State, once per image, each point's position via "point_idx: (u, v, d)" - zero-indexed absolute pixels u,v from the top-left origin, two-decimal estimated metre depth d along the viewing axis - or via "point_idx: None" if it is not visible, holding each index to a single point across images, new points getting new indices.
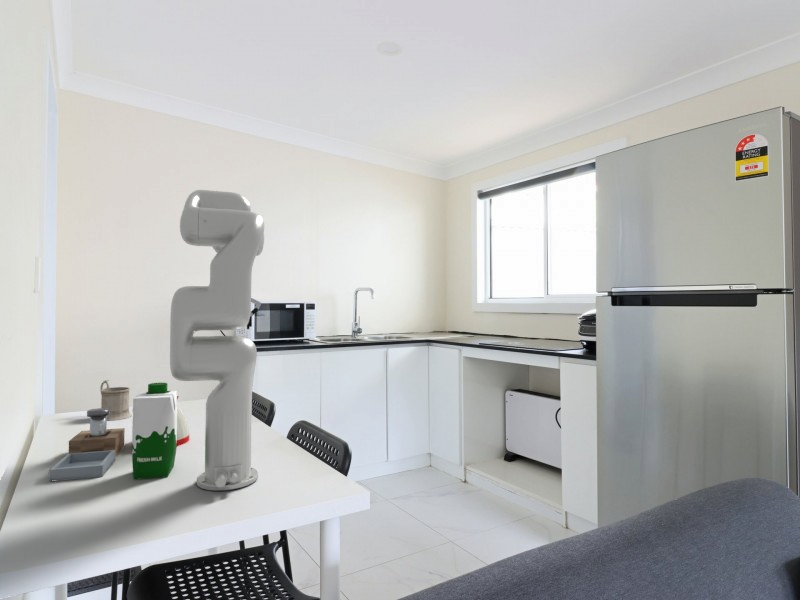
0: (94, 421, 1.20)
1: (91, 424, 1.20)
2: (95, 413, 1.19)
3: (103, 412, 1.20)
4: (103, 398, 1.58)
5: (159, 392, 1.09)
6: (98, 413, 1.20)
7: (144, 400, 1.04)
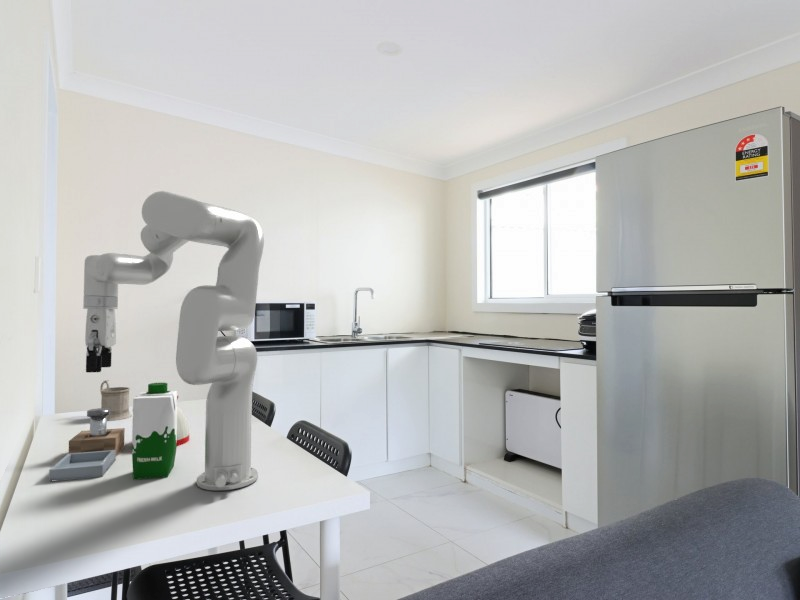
0: (94, 421, 1.20)
1: (91, 424, 1.20)
2: (95, 413, 1.19)
3: (103, 412, 1.20)
4: (103, 398, 1.58)
5: (159, 392, 1.09)
6: (98, 413, 1.20)
7: (144, 400, 1.04)
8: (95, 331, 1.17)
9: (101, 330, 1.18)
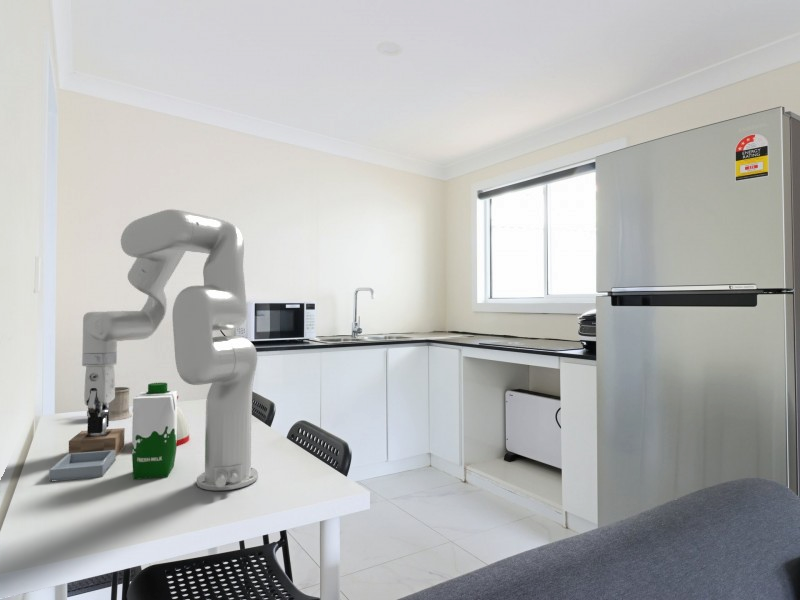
0: None
1: None
2: None
3: (103, 412, 1.20)
4: None
5: (159, 392, 1.09)
6: None
7: (144, 399, 1.04)
8: (94, 392, 1.17)
9: (100, 388, 1.18)
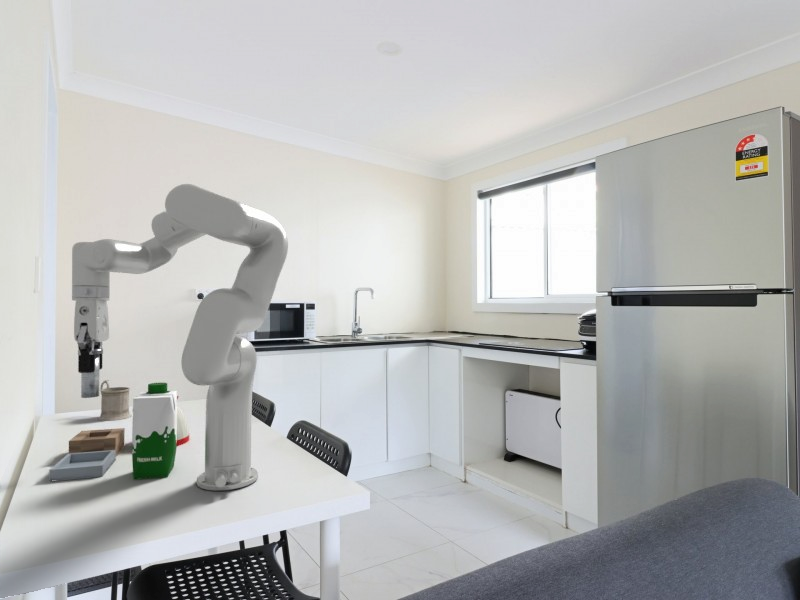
0: None
1: None
2: None
3: (95, 350, 1.11)
4: (103, 398, 1.58)
5: (159, 392, 1.09)
6: None
7: (144, 399, 1.04)
8: (85, 327, 1.08)
9: (91, 323, 1.08)
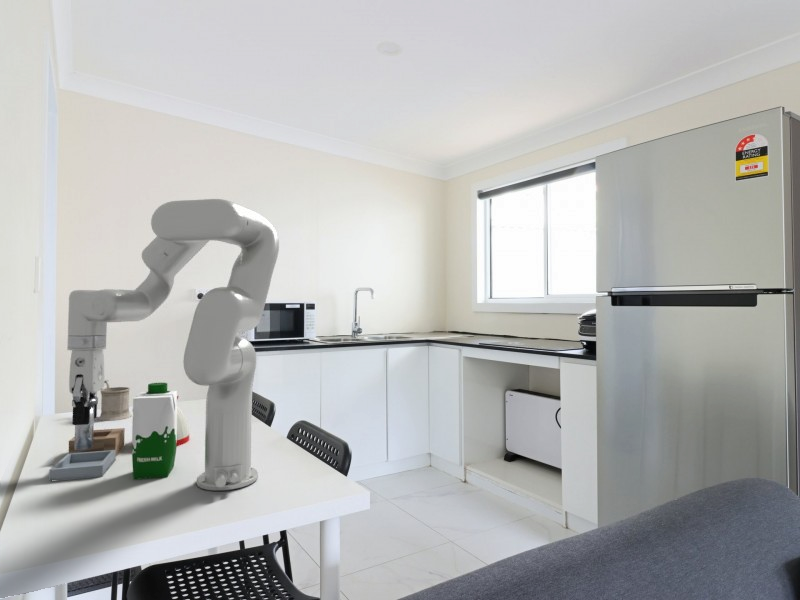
0: None
1: None
2: None
3: (90, 401, 1.08)
4: (103, 398, 1.58)
5: (159, 392, 1.09)
6: None
7: (144, 399, 1.04)
8: (80, 379, 1.05)
9: (87, 374, 1.06)
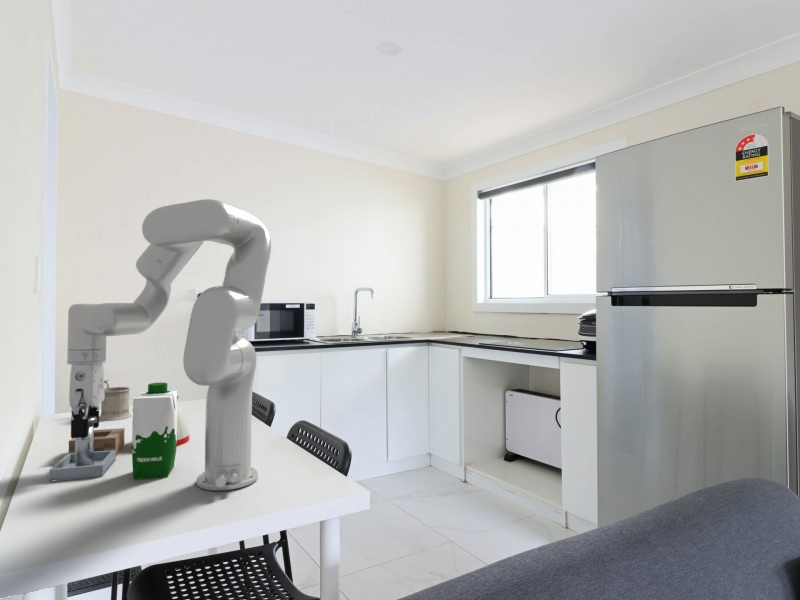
0: None
1: None
2: None
3: (89, 420, 1.08)
4: None
5: (159, 392, 1.09)
6: None
7: (144, 400, 1.04)
8: (80, 391, 1.05)
9: (87, 389, 1.05)
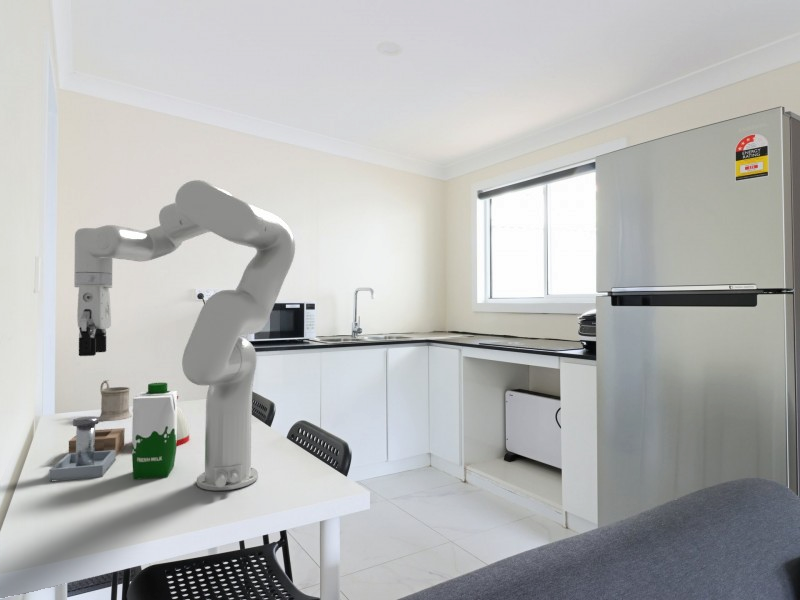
0: (80, 431, 1.08)
1: (77, 434, 1.08)
2: (82, 422, 1.07)
3: (91, 421, 1.08)
4: (103, 398, 1.58)
5: (159, 392, 1.09)
6: (85, 422, 1.08)
7: (144, 399, 1.04)
8: (88, 310, 1.07)
9: (95, 309, 1.07)
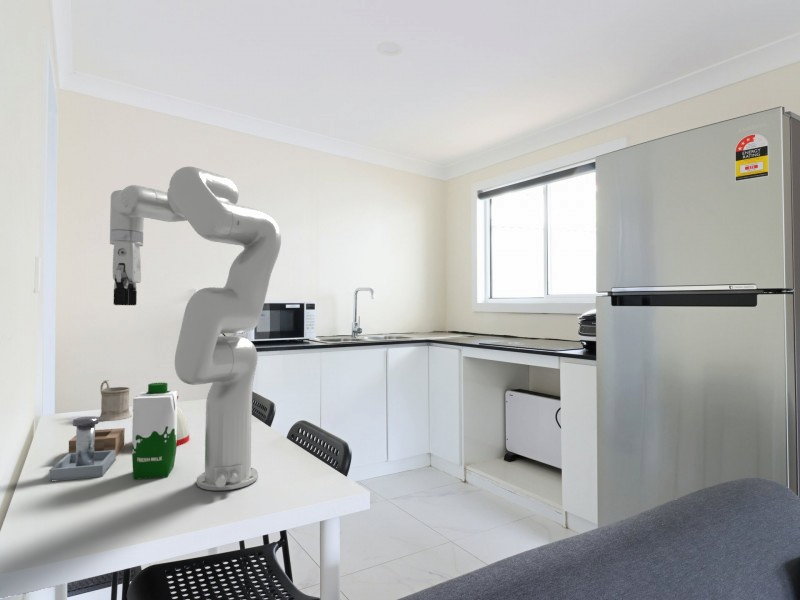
0: (80, 431, 1.08)
1: (77, 434, 1.08)
2: (82, 422, 1.07)
3: (91, 421, 1.08)
4: (103, 398, 1.58)
5: (159, 392, 1.09)
6: (85, 422, 1.08)
7: (144, 399, 1.04)
8: (122, 264, 1.18)
9: (128, 263, 1.18)
